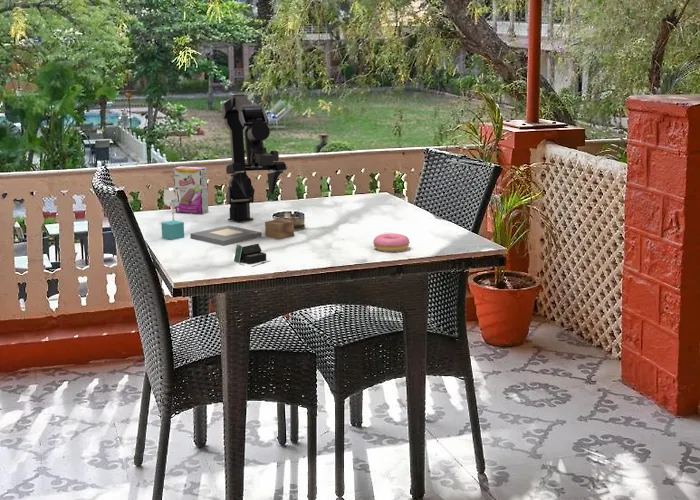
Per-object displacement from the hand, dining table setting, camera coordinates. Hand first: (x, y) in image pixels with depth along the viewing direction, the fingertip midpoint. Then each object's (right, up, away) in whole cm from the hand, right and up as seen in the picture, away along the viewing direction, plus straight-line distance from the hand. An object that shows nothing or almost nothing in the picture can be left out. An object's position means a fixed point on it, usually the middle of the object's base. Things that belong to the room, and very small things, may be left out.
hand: (259, 195), depth 299 cm
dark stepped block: (+1, -21, -25) cm, 33 cm away
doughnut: (+41, -17, -12) cm, 46 cm away
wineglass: (-32, -8, +27) cm, 42 cm away
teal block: (-28, -13, +5) cm, 31 cm away
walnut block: (+6, -13, +5) cm, 15 cm away
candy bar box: (-28, -4, +45) cm, 53 cm away
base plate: (-11, -13, +4) cm, 18 cm away
